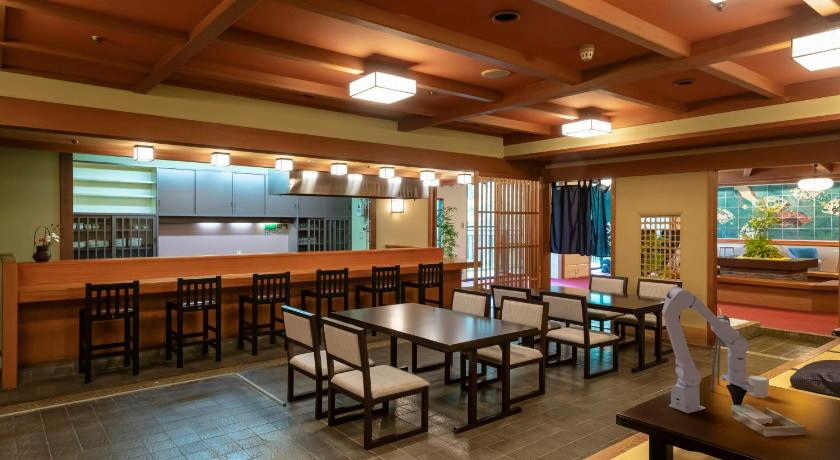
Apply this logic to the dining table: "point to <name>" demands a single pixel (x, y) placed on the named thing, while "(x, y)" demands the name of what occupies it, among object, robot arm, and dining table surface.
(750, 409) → the celadon tile
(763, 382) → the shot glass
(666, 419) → the dining table surface
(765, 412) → the box
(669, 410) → the dining table surface
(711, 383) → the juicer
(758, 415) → the cream tile
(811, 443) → the dining table surface
